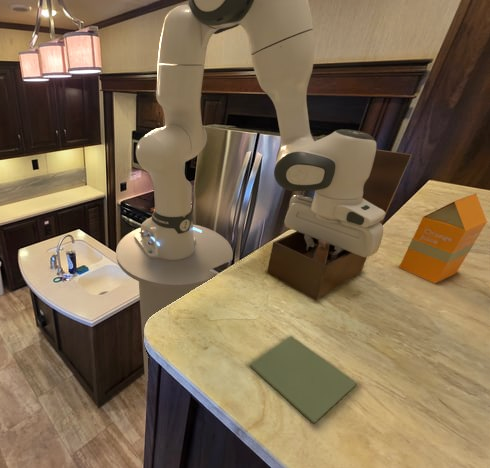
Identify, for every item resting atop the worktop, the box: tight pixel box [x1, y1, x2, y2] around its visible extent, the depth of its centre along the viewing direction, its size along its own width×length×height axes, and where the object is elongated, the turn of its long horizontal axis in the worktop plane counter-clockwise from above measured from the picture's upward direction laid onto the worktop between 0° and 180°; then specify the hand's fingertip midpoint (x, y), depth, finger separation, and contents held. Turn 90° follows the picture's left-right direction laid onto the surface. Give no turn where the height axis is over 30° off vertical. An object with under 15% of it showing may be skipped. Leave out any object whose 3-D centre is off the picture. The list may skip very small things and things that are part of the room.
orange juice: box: [398, 193, 488, 284], centre depth 68 cm, size 8×9×20 cm
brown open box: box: [266, 231, 368, 301], centre depth 73 cm, size 19×13×10 cm
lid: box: [362, 148, 413, 225], centre depth 71 cm, size 20×13×5 cm
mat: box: [249, 336, 358, 425], centre depth 51 cm, size 12×12×1 cm
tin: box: [312, 240, 330, 264], centre depth 73 cm, size 15×3×8 cm, turn 144°
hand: (320, 254), depth 73 cm, fingers closed on tin, 4 cm apart
